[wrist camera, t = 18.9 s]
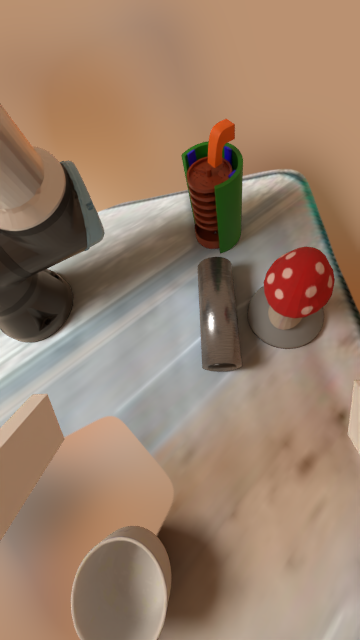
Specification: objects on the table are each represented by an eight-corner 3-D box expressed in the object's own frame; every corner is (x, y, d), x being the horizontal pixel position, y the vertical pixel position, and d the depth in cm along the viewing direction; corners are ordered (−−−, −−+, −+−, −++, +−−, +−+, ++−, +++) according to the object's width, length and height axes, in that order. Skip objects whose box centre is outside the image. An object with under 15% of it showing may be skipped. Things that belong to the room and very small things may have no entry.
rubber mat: (251, 351, 45) (252, 349, 45) (244, 287, 50) (244, 284, 49) (329, 346, 44) (331, 344, 43) (314, 280, 48) (315, 277, 47)
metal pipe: (204, 373, 45) (200, 365, 40) (199, 276, 52) (195, 257, 47) (241, 371, 44) (242, 362, 39) (231, 272, 52) (231, 253, 46)
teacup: (135, 500, 40) (113, 515, 33) (195, 560, 36) (186, 592, 29) (70, 595, 37) (31, 634, 30) (128, 672, 33) (99, 738, 26)
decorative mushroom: (300, 350, 43) (332, 311, 30) (248, 329, 46) (255, 284, 32) (321, 297, 46) (359, 239, 32) (270, 280, 49) (285, 220, 35)
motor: (184, 233, 57) (161, 139, 39) (213, 205, 58) (204, 102, 40) (221, 258, 53) (216, 167, 35) (251, 228, 55) (261, 125, 36)
